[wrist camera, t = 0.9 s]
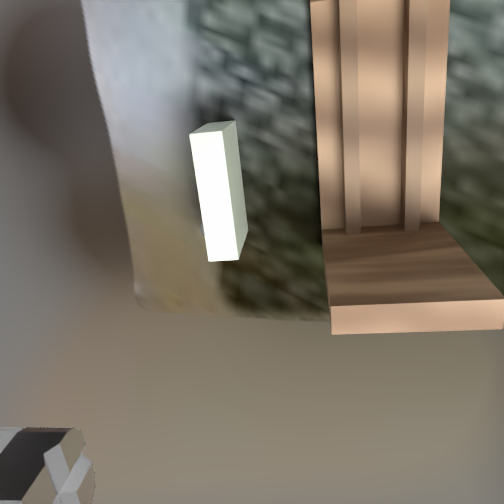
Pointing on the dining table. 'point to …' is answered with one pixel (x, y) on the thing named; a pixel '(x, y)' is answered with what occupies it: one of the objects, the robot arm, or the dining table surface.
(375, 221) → the track frame
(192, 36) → the dining table surface
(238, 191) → the door panel
